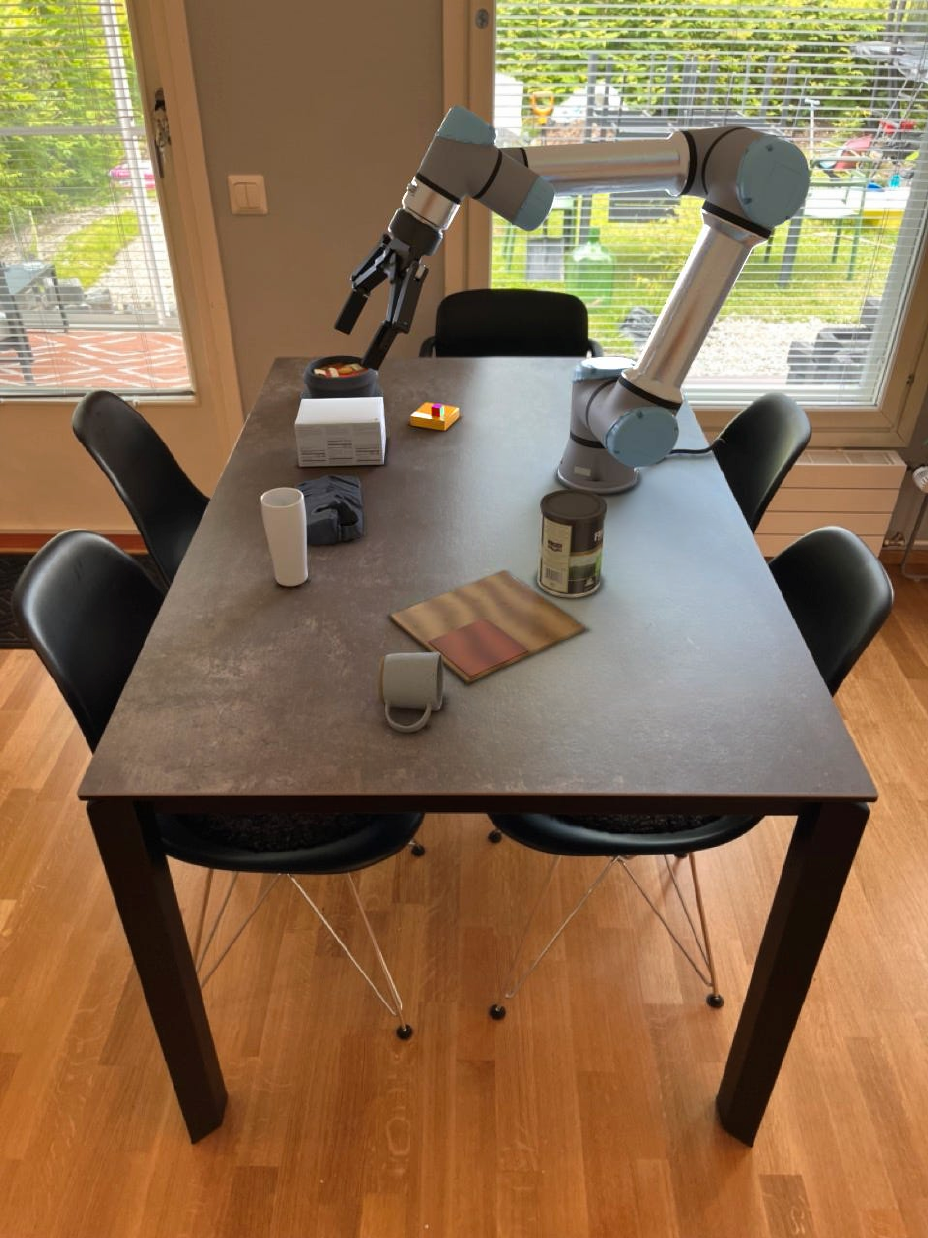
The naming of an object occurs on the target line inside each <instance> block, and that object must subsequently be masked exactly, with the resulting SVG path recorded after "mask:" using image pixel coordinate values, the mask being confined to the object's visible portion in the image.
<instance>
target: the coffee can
mask: <svg viewBox="0 0 928 1238" xmlns="http://www.w3.org/2000/svg"><path fill="white" fill-rule="evenodd" d="M539 510H540V517H539V518H540V519H539V539H538V540H539V542H538V564H537V565H538V567H537V578H536V581H537V584H538V586H539V587H540V589H542V590H543V591H544V592H546V593H548V594H550V595H552V596H555V597H561V598H565V599H566V598H573V599H574V598H582V597H585V596H589V595H591V594H593V593H594V592H596V591H597V590H598V589H599V587H600V585H601V571H602V560H603V546H604V537H605V536H604V535H605V524H606V513H607V510H608V503H607V501H606V500H605V499H604V498H603V497H602V496H600V494H595V493H592V492H589V491H585V490H578V489H571V488H566V489H565V488H563V489H558V490H554V491H551V492H549V493H547V494H545V495H544V496H542V498H541V500H540V501H539Z"/></svg>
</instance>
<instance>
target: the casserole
mask: <svg viewBox="0 0 928 1238" xmlns="http://www.w3.org/2000/svg"><path fill="white" fill-rule="evenodd" d="M362 359H363V357H362V356H358V355H351V354H350V355H348V354H347V355H346V354H345V355H344V354H343V355H342V354H341V355H340V354H339V355H330V356H325V357H321V358H317V359H314V360H312V361H311V362H308V363H307V365H306V367H305V370H304V373H303V374H302V376H301V380H302V382H303V383H304V384H305V385H306V387H305V388H304V389H303V390H302V391H301V392H300V395H299V396H300V400H302V399H335V398H372V397H383V395H384V390H383V388H382V387H381V386H380V385H379V384H377V383H376V380H377V379H378V377H379V372H378V371H379V370H378V371H376V370H373V369H371V368H369V367H366V366H364V365H362V364H361V361H362Z"/></svg>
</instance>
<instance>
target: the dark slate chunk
mask: <svg viewBox="0 0 928 1238" xmlns="http://www.w3.org/2000/svg"><path fill="white" fill-rule="evenodd" d="M293 489H297V490H299V491H300V492H302V494H303V496H304V502H305V509H306V522H307V545H317V546H321V545H323V546H324V545H334V544H337V543H340V542H342V543H345V542H347V541H350V540H354V539H359V538H361V537H362V536H363V535H362V534H363V529H364V526H363V513H362V512H363V511H362V508H363V499H362V494H361V482H360V479H359V478H358V477H357V476H348V475H340V474H326V475H322V476H319V477H316V478H314V479H313V480H306V481H305V480H304V481H302V482H300V483H297V484H296V485H295V486H294V488H293Z"/></svg>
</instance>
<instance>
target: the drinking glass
mask: <svg viewBox="0 0 928 1238" xmlns="http://www.w3.org/2000/svg"><path fill="white" fill-rule="evenodd" d="M259 500H260V511H261V520H262V526H263V528H264V529H263V530H264V533H265V534H264V535H265V538H266V542H267V546H268V549H269V550H268V551H269V555H270V559H271V562H272V568H273V574H274V579H275V581H276V582H277V584H279V585H281V586H284V587H296V586H300V585H302V584H304V583H305V582H306V581H307V579H308V577H309V570H308V568H309V567H308V544H307V522H306V509H305V502H304V496H303V494H302V492H300V491H299V490H297V489H294V488H292V487H277V488H273V489H269V490H267V491H265V492H264V493H263V494H261V496H260V499H259Z"/></svg>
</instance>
